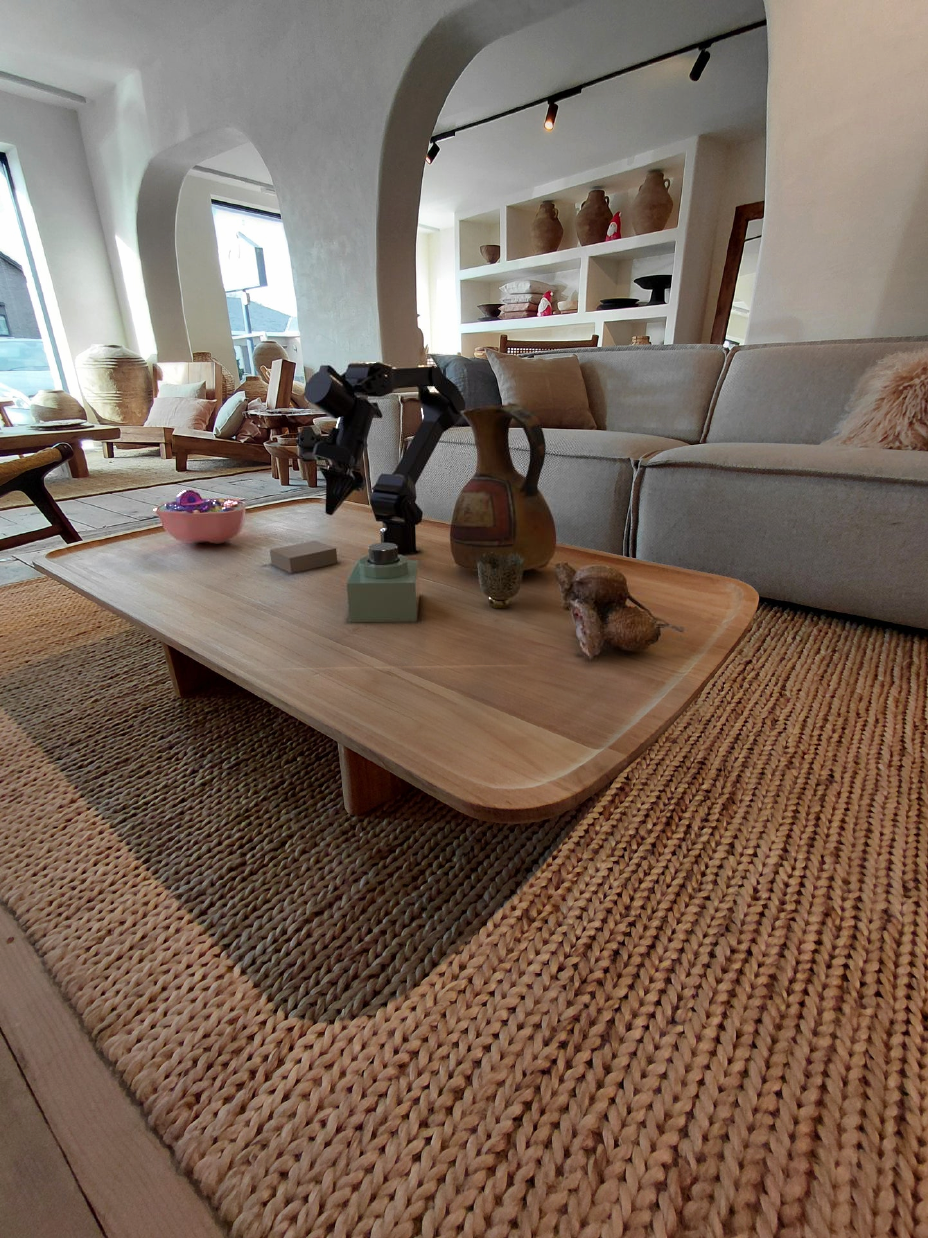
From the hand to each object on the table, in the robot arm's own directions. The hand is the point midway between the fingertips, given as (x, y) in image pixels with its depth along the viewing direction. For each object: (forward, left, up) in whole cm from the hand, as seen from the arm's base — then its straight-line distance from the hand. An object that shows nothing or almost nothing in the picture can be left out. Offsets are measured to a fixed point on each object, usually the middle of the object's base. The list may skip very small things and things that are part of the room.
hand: (328, 514), depth 102 cm
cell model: (+21, -34, -12) cm, 41 cm away
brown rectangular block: (+4, -10, -11) cm, 15 cm away
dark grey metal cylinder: (-4, +20, -4) cm, 21 cm away
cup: (-21, +26, -12) cm, 35 cm away
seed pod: (-28, +44, -12) cm, 54 cm away
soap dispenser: (-4, +20, -11) cm, 23 cm away
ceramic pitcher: (-30, +9, -12) cm, 34 cm away
